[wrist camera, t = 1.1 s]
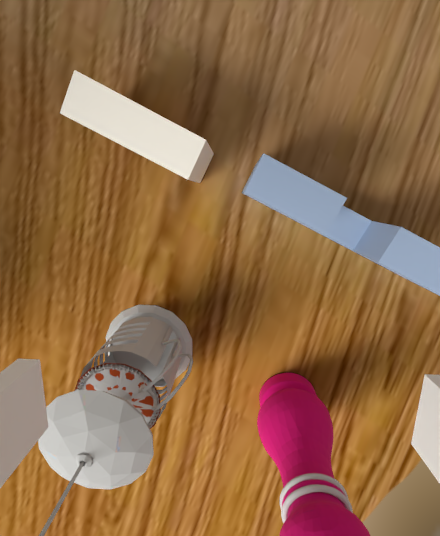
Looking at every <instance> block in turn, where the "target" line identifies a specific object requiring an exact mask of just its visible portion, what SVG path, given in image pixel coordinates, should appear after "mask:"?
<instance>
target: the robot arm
mask: <svg viewBox="0 0 440 536" xmlns="http://www.w3.org/2000/svg"><path fill="white" fill-rule="evenodd" d="M47 428H48V419H47V411H46V404H45V396H44V389H43V381H42V373H41V366H40V360H38V359H17V360H16V361H15V362H13V363H12V364H11V365H10V366H8V367H7V368H6V369H4V370H3V371H2V372H0V488H1V487H2V485H3V484H4V483H5V482H6V480H7V479H8V478H9V476H10V475H11V474H12V473H13V471H14V470H15V469H16V468H17V466H18V465H19V464H20V463H21V461H22V460H23V459H24V457H25V456H26V455H27V454H28V452H29V451H30V450H31V449H32V447H33V446H34V445H35V443H36V442H37V441H38V440H39V438H40V437H41V436H42V435H43V433H44V432H45V431H46V430H47ZM411 444H412V445H413V447H414V448H415V450H416V451H417V452H418V454H419V455H420V457H421V458H422V460H423V461H424V462H425V464H426V465H427V466H428V468H429V469H430V471H431V472H432V474H433V475H434V476H435V478H436V479H437V480H438V482H439V483H440V375H428V374H425V376H424V381H423V386H422V391H421V396H420V401H419V407H418V412H417V417H416V422H415V427H414V432H413V437H412V443H411Z"/></svg>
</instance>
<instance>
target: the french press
mask: <svg viewBox="0 0 440 536" xmlns="http://www.w3.org/2000/svg"><path fill="white" fill-rule="evenodd" d="M105 345H106V348H104V347H105ZM103 353H105V362H104V363H103ZM99 355H100V365H98V366H97V359H98V356H99ZM108 355H109V356H108ZM95 356H96V358H95V362H94V367H93V368H91V366H92V362H93V358H94V357H95ZM94 357H93V358H92V359H91V360H90V361H89V363H88V364H87V365H86V366H85V367H84V369H83V372H82V374H81V377H80V379H78V382H77V385H76V388H75V391H73V392H70V393H68V394H65V395H62V396H59V397H57V398H56V399H55V400H54V401H53V402H52V403H50V404H49V405H48V406H47V407H46V411H47V419H48V428H47V430H46V431H45V432H44V433H43V435H42V436H41V437H40V438H39V440H38V443H39V449H40V451H41V453H42V454H43V456H44V457H45V459H46V461H47V462H48V464H49V466H50V467H51V468H52V469H53V470H54V471H56V472H57V473H58V474H59V475H60V476H61V477H63V478H65V479H67V480H69V481H70V483H69V484H68V486H67V488H66V490H65V491H64V493H63V495H62V496H61V498H60V500H59V502H58V503H57V505H56V507H55V509H54V510H53V512H52V514H51V516H50V517H49V519H48V521H47V523H46V524H45V526H44V528H43V530H42V531H41V533H40V535H39V536H44V535H45V533H46V531H47V529H48V527H49V526H50V524H51V522H52V520H53V519H54V517H55V515H56V513H57V511H58V510H59V508H60V506H61V504H62V503H63V501H64V499H65V497H66V495H67V494H68V492H69V490H70V488H71V486H72V485H73V483H77V484H79V485H82V486H84V487H86V488H95V489H114V488H117V487H121V486H124V485H128V484H131V483H132V482H133V481H134V480H136V479H137V478H138V477H140V476H141V475H142V474H143V473H145V472H146V470H147V467H148V465H149V463H150V461H151V459H152V457H153V435H152V432H151V430H150V429H151V428H152V427H153V426H154V425H155V424H156V421H157V419H158V418H159V417H160V415H161V414H162V412H163V410H164V409H165V407H166V404H167V402H168V401H169V400H170V399H171V398H172V397H173V396H174V395H175V393H176V392H177V391H178V390H179V388H180V387H181V386H182V384H183V383H184V382H185V380H186V379H187V377H188V376H189V374H190V372H191V368H192V364H193V358H192V338H191V336H190V334H189V331H188V329H187V327H186V325H185V324H184V323H183V322H182V321H181V320H180V319H179V318H178V317H177V316H176V315H175V314H174V313H173V312H171V311H168V310H166V309H164V308H161V307H159V306H156V305H137V306H134V307H131V308H129V309H126V310H124V311H122V312H121V313H120V314H119V315H118V316H117V317H116V318H115V319H114V320H113V321H112V322H111V324H110V327H109V330H108V332H107V335H106V343H105V344H104V345H103V346H102V347H101V348H100V350H99V351H98V352H97V353H96V354H95V355H94ZM188 364H189V368H188V371H187V373H186V375H185V376H184V378H183V379H182V381H181V382H180V383H179V385H178V386H177V387H176V388H175V390H174V391H173V392H172V393H171V394H170V392H171V389H172V386H173V383H174V380H175V379H176V378H177V377H178V376H179V375H180V374H181V373H183V372H184V371H185V370H186V368H187V366H188ZM166 385H167V387H166V388H165V389H163V390H156V388H155V386H158V387H164V386H166ZM165 391H167V393H166V394H164V395H163V396H161V397H160V396H159V394H162V393H164V392H165ZM167 394H168V396H167ZM166 396H167V398H166V399H165V400H164V401H162V402H161V403H160V401H161V400H162V399H164V398H165V397H166ZM163 405H164V406H163ZM162 406H163V408H162V410H161V409H160V408H161V407H162Z"/></svg>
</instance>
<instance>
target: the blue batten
mask: <svg viewBox="0 0 440 536" xmlns="http://www.w3.org/2000/svg"><path fill="white" fill-rule="evenodd" d="M242 193H243V194H245V195H247V196H248V197H250V198H252V199H254V200H256V201H258V202H260V203H262V204H264V205H266V206H268V207H269V208H271V209H273V210H275V211H277V212H279V213H281V214H283V215H285V216H287V217H289V218H291V219H292V220H294V221H296V222H298V223H300V224H302V225H304V226H306V227H308V228H310V229H312V230H313V231H315V232H317V233H319V234H321V235H323V236H325V237H327V238H329V239H331V240H333V241H334V242H336V243H338V244H340V245H342V246H344V247H346V248H348V249H350V250H352V251H354V252H356V253H357V254H359V255H361V256H363V257H365V258H367V259H369V260H371V261H373V262H375V263H377V264H378V265H380V266H382V267H384V268H386V269H388V270H390V271H392V272H394V273H396V274H398V275H399V276H401V277H403V278H405V279H407V280H409V281H411V282H413V283H415V284H417V285H419V286H421V287H423V288H425V289H427V290H429V291H431V292H433V293H435V294H437V295H439V296H440V247H438V246H436V245H434V244H432V243H430V242H428V241H427V240H425V239H423V238H421V237H419V236H417V235H415V234H414V233H412V232H410V231H408V230H406V229H404V228H402V227H399V226H394V225H389V224H384V223H380V222H375V221H371V220H369V219H367V218H365V217H363V216H362V215H360V214H358V213H356V212H354V211H352V210H350V209H348V208H347V207H345V206H343V204H344V203H345V201H346V199H347V198H346V197H344V196H342V195H341V194H339V193H337V192H335V191H333V190H331V189H329V188H328V187H326V186H324V185H322V184H320V183H318V182H316V181H314V180H313V179H311V178H309V177H307V176H305V175H303V174H301V173H299V172H298V171H296V170H294V169H292V168H290V167H288V166H286V165H284V164H283V163H281V162H279V161H277V160H275V159H273V158H271V157H270V156H268V155H266V154H263V155H262V156H261V158H260V159H259V161H258V162H257V164H256V165H255V167H254V169H253V171H252V173H251V175H250V177H249V179H248V181H247V183H246V185H245V187H244V189H243V191H242Z"/></svg>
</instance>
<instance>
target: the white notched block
mask: <svg viewBox="0 0 440 536" xmlns="http://www.w3.org/2000/svg"><path fill="white" fill-rule="evenodd" d="M60 114H62V115H64V116H66V117H68V118H70V119H72V120H74V121H76V122H78V123H80V124H82V125H84V126H85V127H87V128H89V129H91V130H93V131H95V132H97V133H99V134H101V135H103V136H105V137H107V138H109V139H110V140H112V141H114V142H116V143H118V144H120V145H122V146H124V147H126V148H128V149H130V150H132V151H134V152H136V153H137V154H139V155H141V156H143V157H145V158H147V159H149V160H151V161H153V162H155V163H157V164H159V165H161V166H162V167H164V168H166V169H168V170H170V171H172V172H174V173H176V174H178V175H180V176H182V177H184V178H186V179H187V180H191V181H194V182H198V183H201V180H202V178H203V176H204V174H205V172H206V170H207V168H208V166H209V163H210V161H211V159H212V157H213V155H214V153H213V151H212V149H211V148H210V146H209V144H208V142H207V140H205V139H204V138H202V137H200V136H198V135H196V134H194V133H192V132H190V131H189V130H187V129H185V128H183V127H181V126H179V125H177V124H175V123H173V122H172V121H170V120H168V119H166V118H164V117H162V116H160V115H158V114H157V113H155V112H153V111H151V110H149V109H147V108H145V107H143V106H141V105H140V104H138V103H136V102H134V101H132V100H130V99H128V98H126V97H124V96H123V95H121V94H119V93H117V92H115V91H113V90H111V89H109V88H108V87H106V86H104V85H102V84H100V83H98V82H96V81H94V80H92V79H91V78H89V77H87V76H85V75H83V74H81V73H79V72H77V71H76V70H74V73H73V76H72V79H71V82H70V84H69V87H68V90H67V93H66V96H65V99H64V102H63V105H62V108H61V111H60Z"/></svg>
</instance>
